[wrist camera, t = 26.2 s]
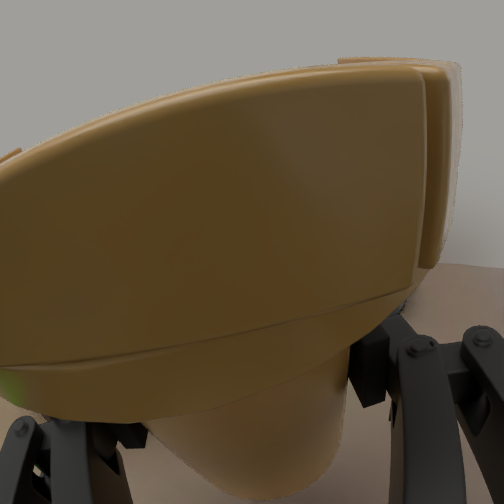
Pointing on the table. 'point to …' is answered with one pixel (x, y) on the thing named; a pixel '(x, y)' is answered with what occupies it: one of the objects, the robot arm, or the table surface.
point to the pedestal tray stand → (226, 258)
